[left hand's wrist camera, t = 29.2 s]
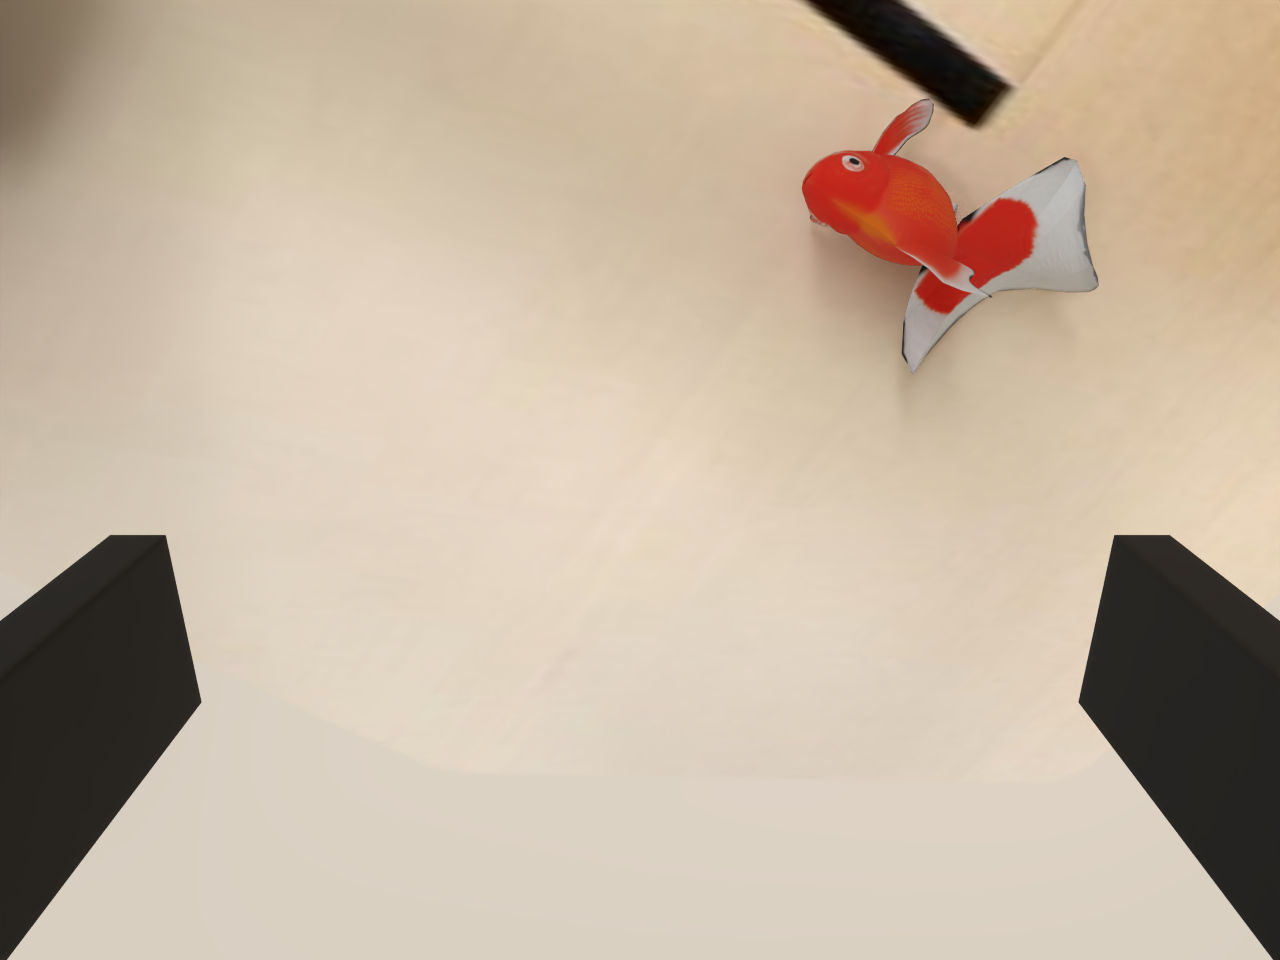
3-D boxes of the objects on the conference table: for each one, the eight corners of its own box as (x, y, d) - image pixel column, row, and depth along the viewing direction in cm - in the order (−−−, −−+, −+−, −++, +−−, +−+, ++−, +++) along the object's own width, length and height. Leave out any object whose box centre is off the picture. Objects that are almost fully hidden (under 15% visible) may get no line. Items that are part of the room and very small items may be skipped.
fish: (937, -29, 37) (1025, 105, 31) (1096, 179, 46) (1188, 313, 40) (742, 151, 43) (785, 293, 37) (919, 305, 52) (975, 437, 46)
